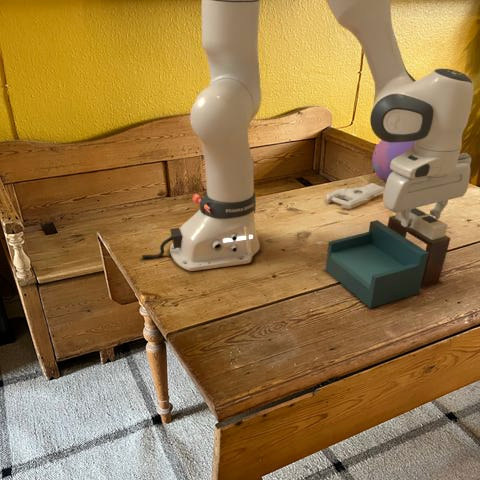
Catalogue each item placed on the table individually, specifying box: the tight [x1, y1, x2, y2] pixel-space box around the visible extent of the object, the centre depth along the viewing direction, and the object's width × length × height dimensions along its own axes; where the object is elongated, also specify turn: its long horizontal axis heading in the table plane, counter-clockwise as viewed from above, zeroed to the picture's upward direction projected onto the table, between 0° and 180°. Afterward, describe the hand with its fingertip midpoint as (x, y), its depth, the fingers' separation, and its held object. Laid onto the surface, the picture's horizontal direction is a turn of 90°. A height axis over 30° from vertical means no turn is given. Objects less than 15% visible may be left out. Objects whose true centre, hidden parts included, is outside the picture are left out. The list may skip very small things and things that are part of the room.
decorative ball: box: [371, 139, 415, 183], centre depth 154 cm, size 15×15×15 cm
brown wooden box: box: [386, 215, 452, 288], centre depth 113 cm, size 5×14×11 cm, turn 25°
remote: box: [394, 207, 448, 240], centre depth 108 cm, size 4×12×3 cm, turn 25°
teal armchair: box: [325, 219, 429, 309], centre depth 109 cm, size 13×17×10 cm
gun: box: [325, 182, 385, 210], centre depth 147 cm, size 18×3×10 cm
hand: (420, 222), depth 109 cm, fingers open, 6 cm apart
